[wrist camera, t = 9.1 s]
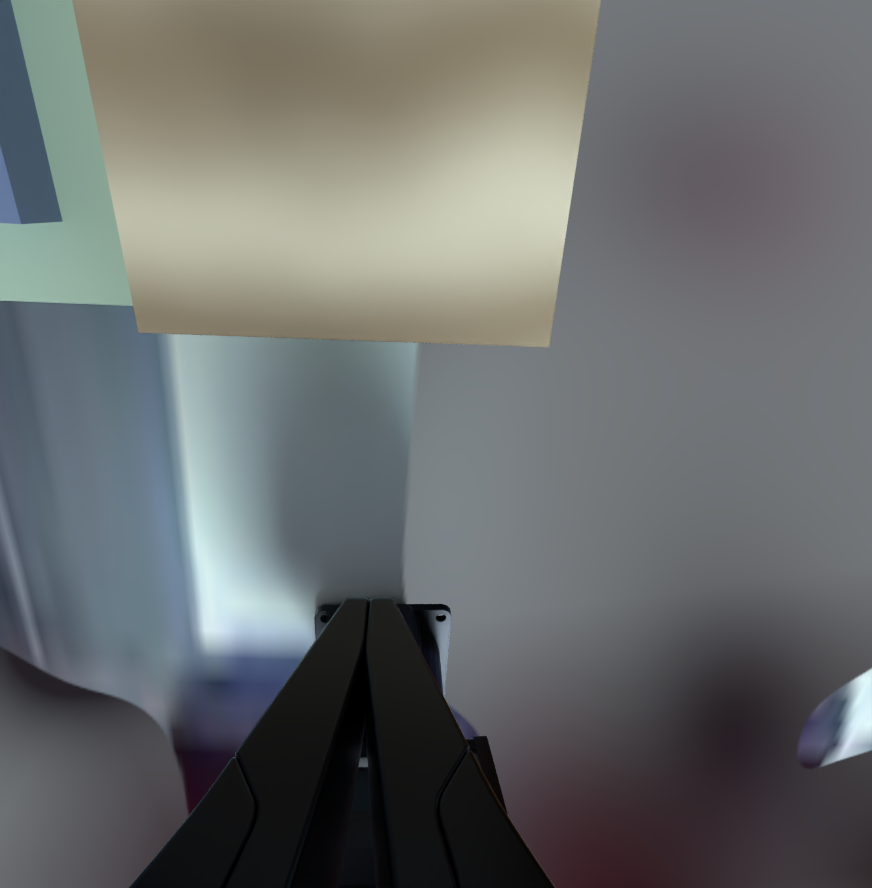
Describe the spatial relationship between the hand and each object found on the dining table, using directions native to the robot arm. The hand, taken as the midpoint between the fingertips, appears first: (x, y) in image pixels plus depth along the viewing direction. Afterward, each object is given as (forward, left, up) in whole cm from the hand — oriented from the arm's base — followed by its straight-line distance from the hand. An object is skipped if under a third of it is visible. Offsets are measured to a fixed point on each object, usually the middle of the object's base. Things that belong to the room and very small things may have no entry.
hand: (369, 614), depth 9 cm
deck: (+9, +1, -12) cm, 15 cm away
